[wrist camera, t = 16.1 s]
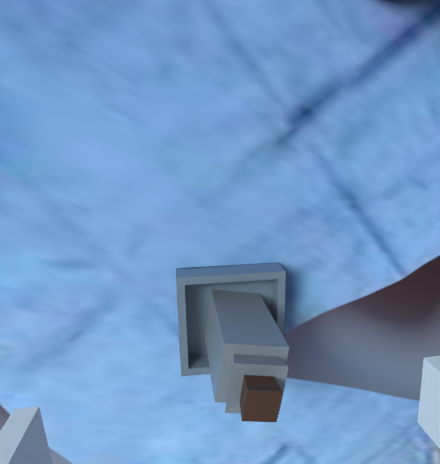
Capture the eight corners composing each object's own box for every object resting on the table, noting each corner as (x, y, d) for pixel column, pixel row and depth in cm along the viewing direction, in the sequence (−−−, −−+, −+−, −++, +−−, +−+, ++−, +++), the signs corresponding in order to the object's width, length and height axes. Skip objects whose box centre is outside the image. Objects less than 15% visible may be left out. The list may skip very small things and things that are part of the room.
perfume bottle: (251, 337, 50) (291, 438, 33) (204, 334, 49) (220, 436, 32) (259, 293, 49) (305, 375, 32) (211, 289, 48) (231, 371, 30)
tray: (278, 262, 49) (285, 271, 45) (276, 352, 52) (283, 366, 49) (176, 268, 47) (176, 277, 44) (180, 360, 51) (181, 376, 47)
